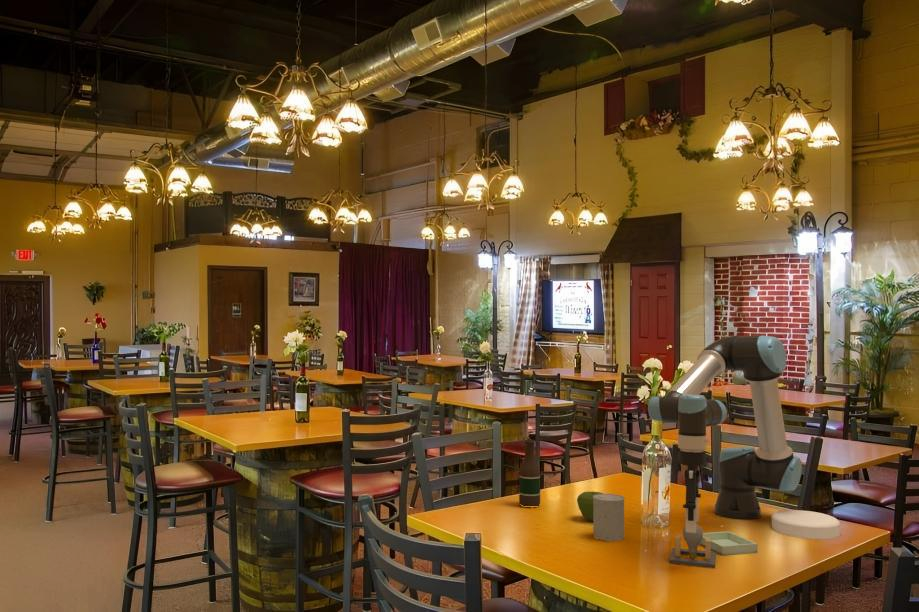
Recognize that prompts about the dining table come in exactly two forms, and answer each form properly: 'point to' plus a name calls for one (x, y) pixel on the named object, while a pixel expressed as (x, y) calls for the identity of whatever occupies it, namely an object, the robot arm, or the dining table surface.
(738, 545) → the parts tray
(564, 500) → the dining table surface
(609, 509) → the gray cylinder
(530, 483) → the beer bottle
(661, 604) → the dining table surface
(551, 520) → the dining table surface
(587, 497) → the apple
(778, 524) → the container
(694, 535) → the light bulb
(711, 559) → the frame
